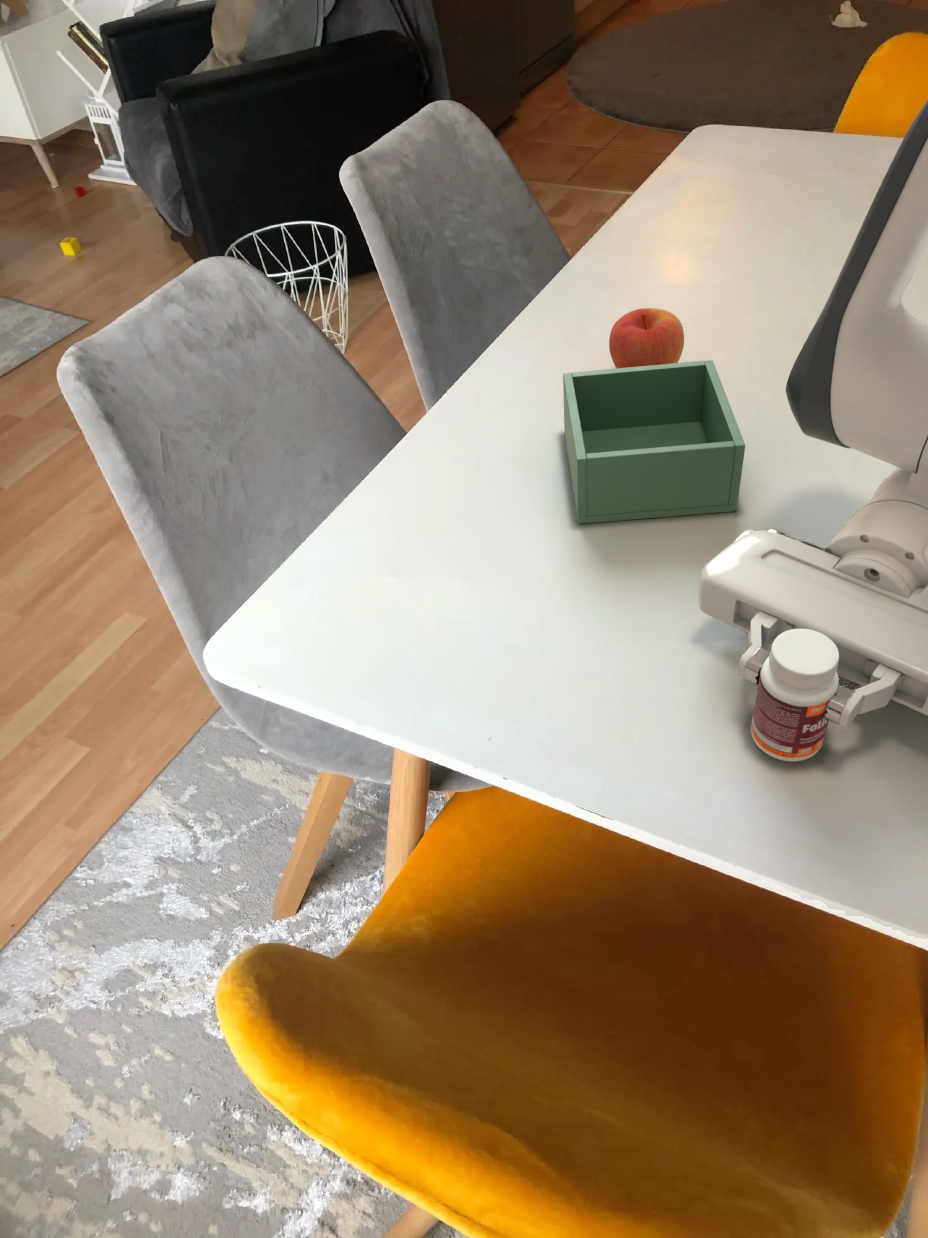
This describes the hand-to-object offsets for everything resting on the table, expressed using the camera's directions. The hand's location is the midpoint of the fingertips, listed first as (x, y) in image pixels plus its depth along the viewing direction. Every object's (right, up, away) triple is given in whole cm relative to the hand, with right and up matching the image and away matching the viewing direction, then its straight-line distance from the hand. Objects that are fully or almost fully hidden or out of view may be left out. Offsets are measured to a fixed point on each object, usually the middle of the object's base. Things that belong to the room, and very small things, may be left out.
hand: (791, 695), depth 61 cm
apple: (-2, +29, +38) cm, 48 cm away
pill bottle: (+1, -3, +4) cm, 5 cm away
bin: (-4, +18, +26) cm, 32 cm away
